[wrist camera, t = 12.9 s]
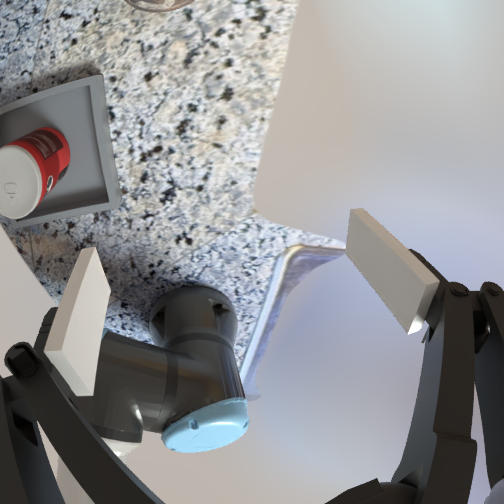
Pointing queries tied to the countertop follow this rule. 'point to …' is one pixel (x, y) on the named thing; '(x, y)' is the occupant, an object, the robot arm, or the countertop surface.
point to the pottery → (158, 5)
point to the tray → (80, 143)
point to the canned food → (31, 170)
